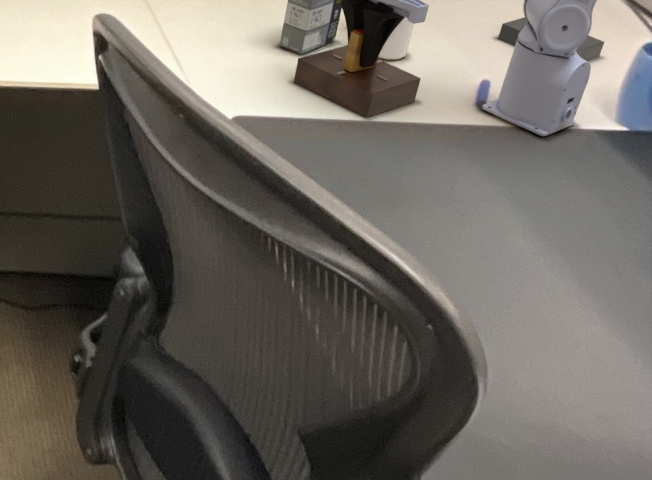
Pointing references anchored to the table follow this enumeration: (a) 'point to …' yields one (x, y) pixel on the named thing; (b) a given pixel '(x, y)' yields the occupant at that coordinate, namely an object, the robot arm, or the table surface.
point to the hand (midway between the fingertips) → (360, 62)
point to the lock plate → (356, 82)
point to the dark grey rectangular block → (585, 50)
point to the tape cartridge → (310, 24)
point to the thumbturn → (355, 52)
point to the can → (397, 41)
